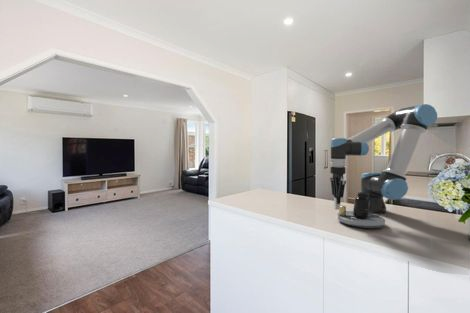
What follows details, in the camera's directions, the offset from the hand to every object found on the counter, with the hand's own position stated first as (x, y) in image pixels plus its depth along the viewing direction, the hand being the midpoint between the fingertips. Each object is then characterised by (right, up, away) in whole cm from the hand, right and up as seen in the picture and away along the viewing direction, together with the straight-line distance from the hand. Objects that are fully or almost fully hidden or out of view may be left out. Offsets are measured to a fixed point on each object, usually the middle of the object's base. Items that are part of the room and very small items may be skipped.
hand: (337, 209), depth 123 cm
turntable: (+8, -4, -9) cm, 12 cm away
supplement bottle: (+8, -2, -9) cm, 12 cm away
